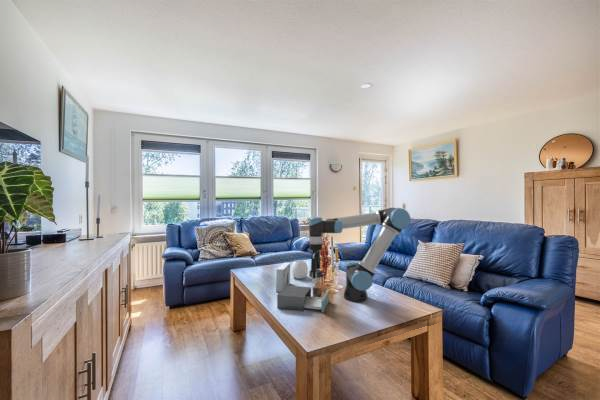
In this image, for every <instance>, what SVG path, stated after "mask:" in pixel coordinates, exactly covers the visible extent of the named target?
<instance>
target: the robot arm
mask: <svg viewBox="0 0 600 400" xmlns="http://www.w3.org/2000/svg"><path fill="white" fill-rule="evenodd" d="M411 219H412V217H411V215H410V213H409V212H408V211H407V210H406V209H404V208H402V207H389V208H384V209H380V210H379V209H378V210H376V211H375V212H370V213H363V214H356V215H348V216H342V217H341V216H340V217H335V218H327V219H325V220H323V217H319V216H312V217H310V218H309V230H308V231H309V233H308V234H309V237H308V240H309V251H312V253H311V255H310V256H311V261H310V262H311V265H310V266H311V267H310V271H311V273H312V277H311V284H312V285H317V283H318V281H319V280H320V279H321V277H319V278H317V272H316V270H320V269H321V270H322V266H321V251H322V250H323V234H342V232H343V230H345V229H351V228H361V227H366V226H373V225H374V226H375V225H378V226H382V228H381V230H380V231H379V233H378V234H377V236H376V238H375V239H374V241H373V242H372V244H371V246H370V247H369V249H368V251H367V252H366V254H365V255H364V256H363V258H362V260H360V261H347V262H346V263H345V278H346V279H345V282H346V283H345V288H344V291H343V298H344V299H345V300H347V301H349V302H354V303H357V302H358V303H359V302H360V303H361V302H365V301H367V300H368V292H367V290H369V289H370V288H371V287H372V285H373V278H374V277H375V275H376V268H377V267H378V265H379V263H380V262H381V260H382V258H383V257H384V255H385V254H386V252H387V250H388V249H389V247H390V246H391V244H392V242H393V240H394V239H395V237H396V236H397V235H400V234H401V233H402V231H403V230H405V229H407V228H408V227H409V225H410V223H411ZM321 270H320V271H321Z"/></svg>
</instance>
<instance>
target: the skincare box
mask: <svg viewBox="0 0 600 400" xmlns="http://www.w3.org/2000/svg"><path fill="white" fill-rule="evenodd" d="M275 281H276V282H275V283H276V284H275V287H276V288H275V292H276V293H280V292H281V291H282V290H283V289H284V288H285V287H286V286H287V285H288V286H290V283H291V262H283V263H282V264H281V265H280V266H278V267H277V268H276V280H275Z"/></svg>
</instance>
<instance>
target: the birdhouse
mask: <svg viewBox="0 0 600 400" xmlns="http://www.w3.org/2000/svg"><path fill="white" fill-rule="evenodd" d="M329 301H330V290H326V291H325V293H324V295H323V296H321V297H313V296H311V297H310V296H305V298H304V308H306V309H312V310H321V313H322V314H324V312H325V311H326V309H327V307H328V304H329Z"/></svg>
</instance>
